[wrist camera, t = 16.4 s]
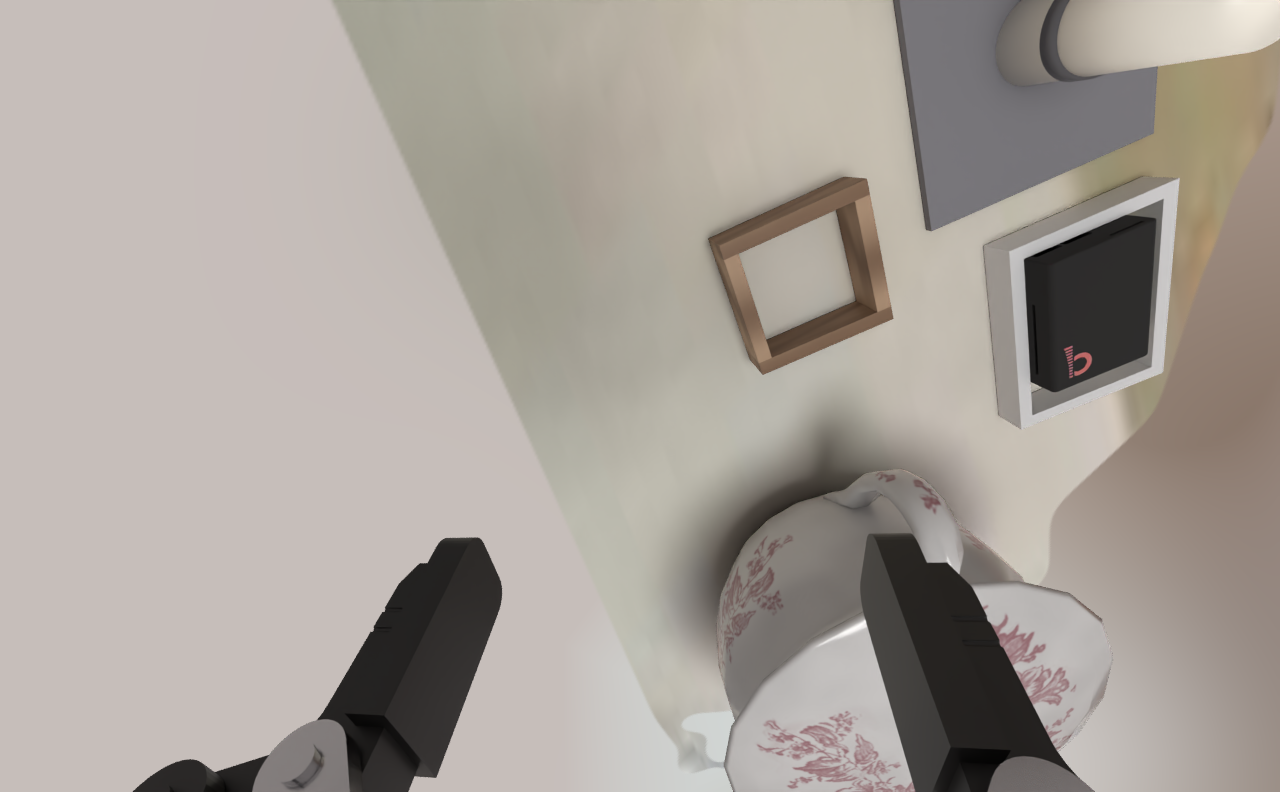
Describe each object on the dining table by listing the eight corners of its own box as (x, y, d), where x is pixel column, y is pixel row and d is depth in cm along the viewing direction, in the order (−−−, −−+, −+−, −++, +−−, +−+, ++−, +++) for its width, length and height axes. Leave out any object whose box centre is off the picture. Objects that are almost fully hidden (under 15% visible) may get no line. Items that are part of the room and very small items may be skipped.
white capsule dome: (990, 8, 30) (1217, -71, 20) (1077, -31, 30) (1356, -133, 19) (995, 103, 33) (1200, 78, 22) (1075, 68, 32) (1324, 25, 22)
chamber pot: (825, 679, 58) (941, 924, 40) (625, 605, 49) (654, 877, 31) (1010, 506, 49) (1269, 716, 31) (807, 379, 41) (1001, 568, 22)
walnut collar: (708, 238, 35) (719, 245, 32) (844, 176, 34) (866, 178, 31) (750, 359, 39) (762, 374, 37) (871, 307, 38) (893, 318, 36)
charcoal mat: (883, -73, 28) (888, -78, 28) (1163, -211, 27) (1174, -218, 27) (926, 229, 36) (931, 231, 36) (1144, 133, 35) (1153, 133, 35)
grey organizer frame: (983, 245, 37) (1009, 251, 35) (1142, 176, 36) (1179, 177, 34) (998, 415, 44) (1021, 429, 42) (1132, 361, 44) (1163, 372, 41)
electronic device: (1090, 210, 38) (1160, 217, 33) (1089, 333, 42) (1150, 354, 38) (994, 252, 38) (1050, 265, 34) (1003, 369, 43) (1054, 394, 38)
